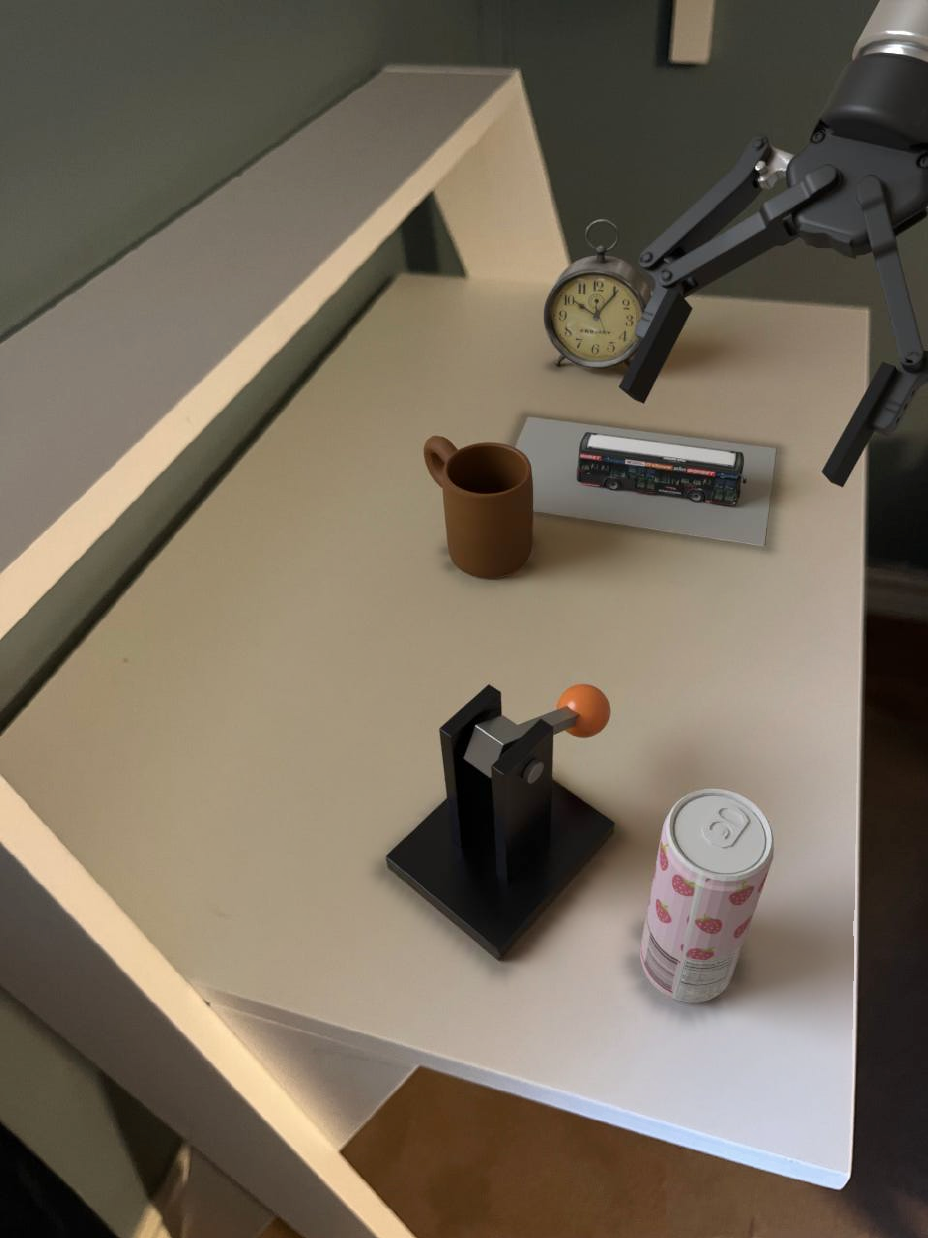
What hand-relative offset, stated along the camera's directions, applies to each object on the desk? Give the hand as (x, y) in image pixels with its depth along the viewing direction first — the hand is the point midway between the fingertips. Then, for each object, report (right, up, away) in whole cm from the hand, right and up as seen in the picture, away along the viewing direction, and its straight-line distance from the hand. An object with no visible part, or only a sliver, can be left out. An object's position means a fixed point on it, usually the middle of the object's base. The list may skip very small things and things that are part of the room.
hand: (725, 435), depth 57 cm
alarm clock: (-1, +17, +49) cm, 52 cm away
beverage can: (-2, -32, +3) cm, 32 cm away
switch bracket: (-13, -27, +8) cm, 31 cm away
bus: (+1, +3, +36) cm, 36 cm away
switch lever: (-11, -19, +4) cm, 23 cm away
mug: (-15, -4, +30) cm, 34 cm away
